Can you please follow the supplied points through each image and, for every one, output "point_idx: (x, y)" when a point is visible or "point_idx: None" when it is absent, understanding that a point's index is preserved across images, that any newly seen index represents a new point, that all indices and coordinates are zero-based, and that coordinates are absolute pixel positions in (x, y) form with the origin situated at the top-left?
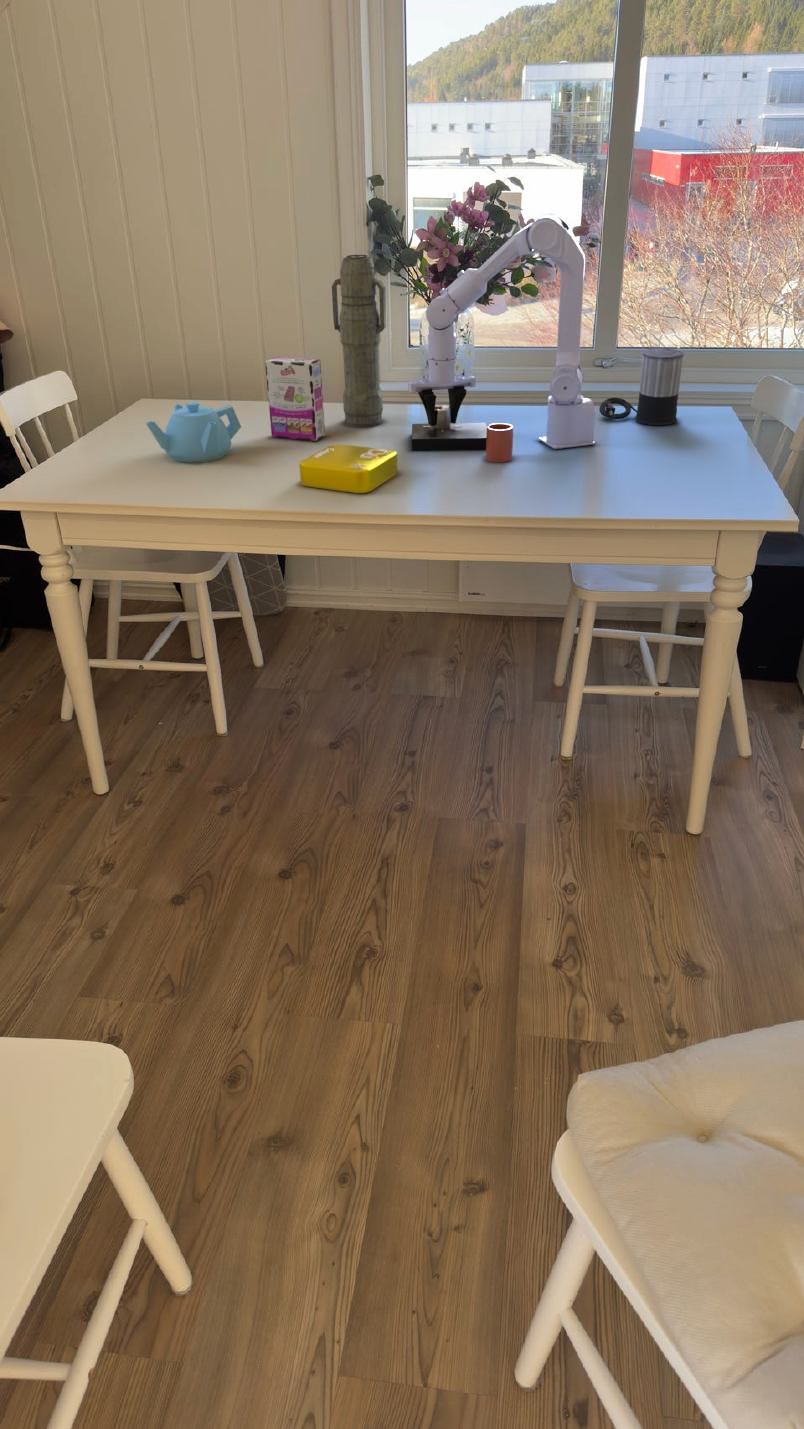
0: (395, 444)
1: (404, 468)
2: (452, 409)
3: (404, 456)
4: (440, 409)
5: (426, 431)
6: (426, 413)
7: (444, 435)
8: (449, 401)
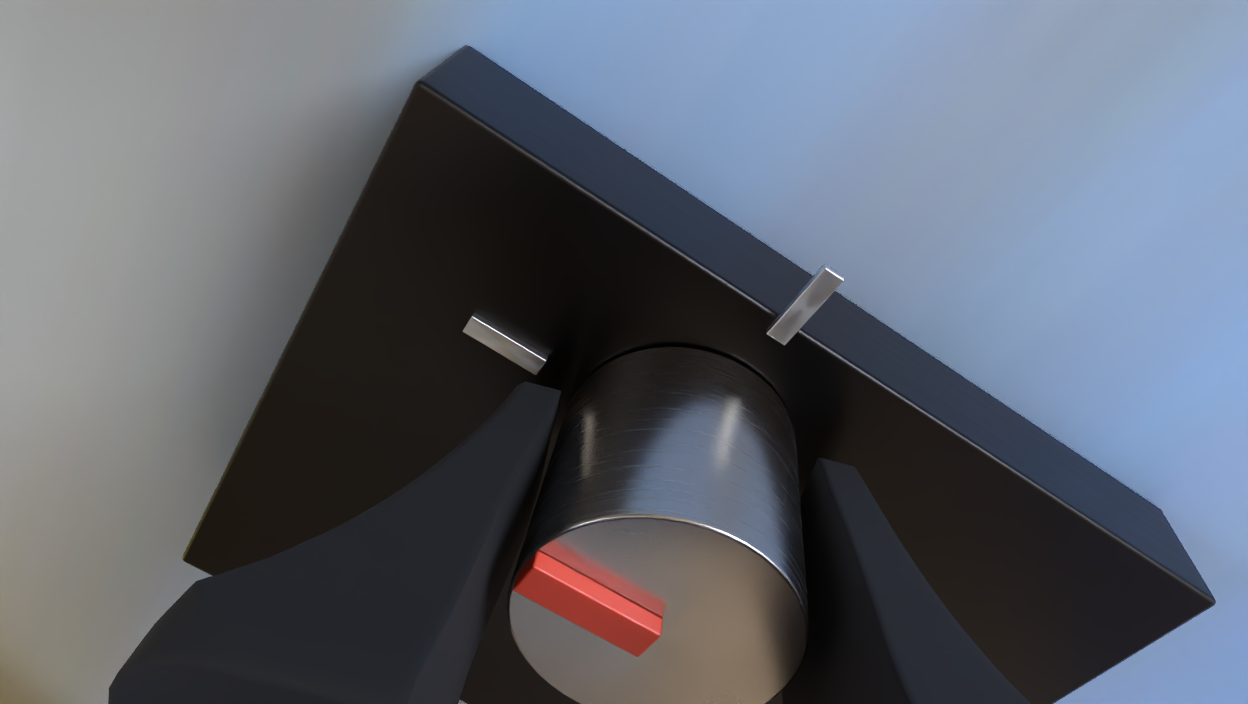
0: (158, 234)
1: (77, 699)
2: (811, 659)
3: (142, 541)
4: (582, 668)
5: (421, 471)
6: (463, 444)
7: (514, 653)
8: (876, 647)
